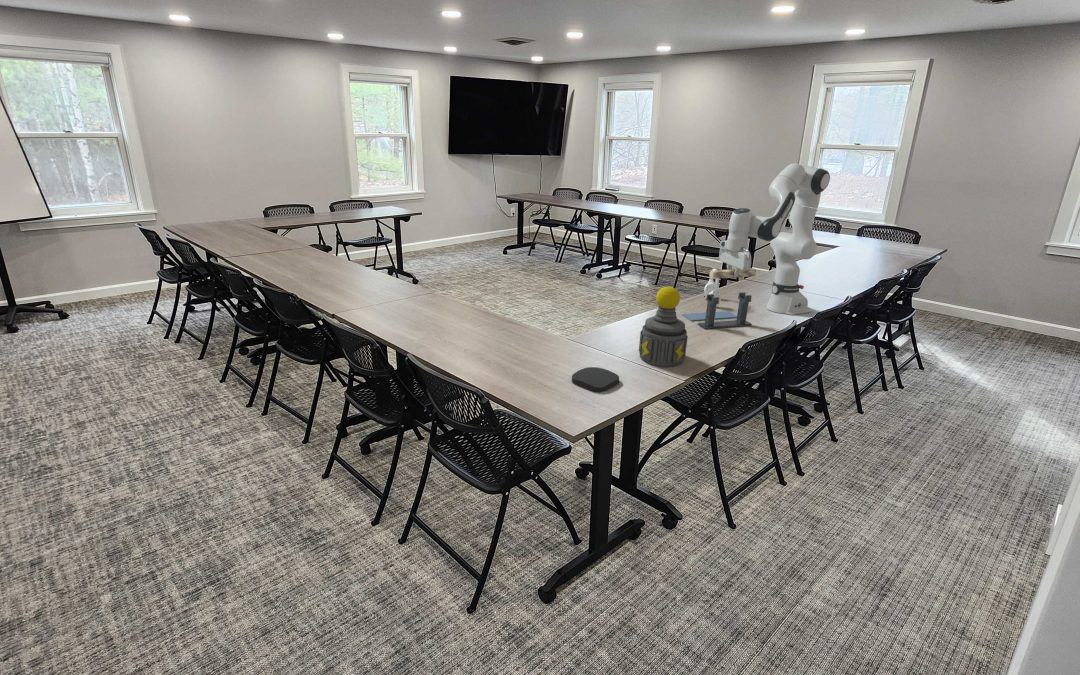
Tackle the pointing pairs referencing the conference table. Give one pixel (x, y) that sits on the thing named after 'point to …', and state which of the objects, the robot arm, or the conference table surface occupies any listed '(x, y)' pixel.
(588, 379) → the media streaming box
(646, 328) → the decorative lamp
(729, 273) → the rail
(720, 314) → the mat
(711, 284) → the headset
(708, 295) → the hook rack
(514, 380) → the conference table surface
